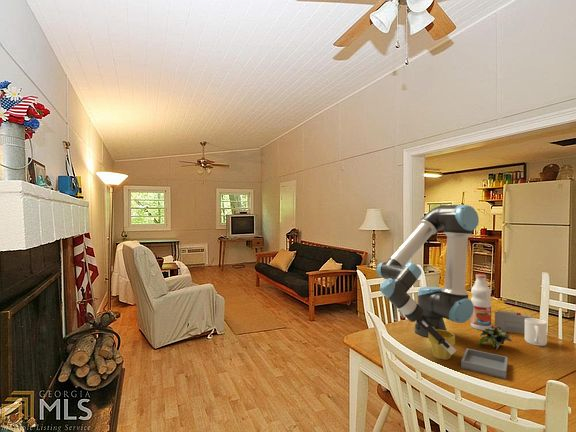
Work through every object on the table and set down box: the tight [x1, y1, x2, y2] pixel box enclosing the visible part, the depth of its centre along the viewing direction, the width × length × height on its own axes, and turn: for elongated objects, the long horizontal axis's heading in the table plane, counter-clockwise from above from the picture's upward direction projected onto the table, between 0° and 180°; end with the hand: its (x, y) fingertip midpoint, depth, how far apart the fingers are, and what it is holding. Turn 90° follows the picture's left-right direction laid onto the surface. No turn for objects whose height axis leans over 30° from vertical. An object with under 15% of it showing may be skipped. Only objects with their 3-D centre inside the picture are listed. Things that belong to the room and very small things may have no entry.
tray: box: [460, 347, 509, 380], centre depth 130 cm, size 15×15×3 cm
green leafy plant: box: [477, 325, 513, 351], centre depth 148 cm, size 11×11×12 cm
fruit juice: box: [470, 273, 492, 331], centre depth 173 cm, size 9×9×28 cm
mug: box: [524, 317, 548, 347], centre depth 151 cm, size 12×8×10 cm
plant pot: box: [427, 330, 456, 360], centre depth 139 cm, size 10×10×10 cm
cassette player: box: [494, 310, 534, 335], centre depth 167 cm, size 16×3×10 cm, turn 63°
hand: (447, 345), depth 139 cm, fingers open, 12 cm apart
